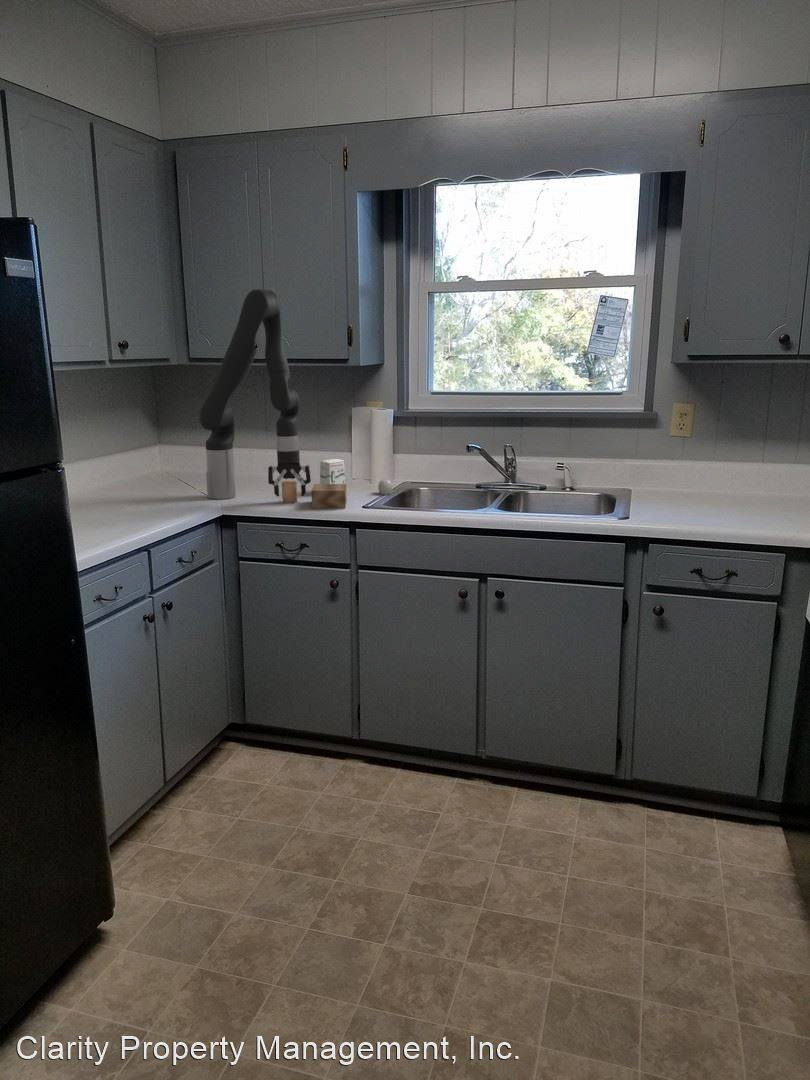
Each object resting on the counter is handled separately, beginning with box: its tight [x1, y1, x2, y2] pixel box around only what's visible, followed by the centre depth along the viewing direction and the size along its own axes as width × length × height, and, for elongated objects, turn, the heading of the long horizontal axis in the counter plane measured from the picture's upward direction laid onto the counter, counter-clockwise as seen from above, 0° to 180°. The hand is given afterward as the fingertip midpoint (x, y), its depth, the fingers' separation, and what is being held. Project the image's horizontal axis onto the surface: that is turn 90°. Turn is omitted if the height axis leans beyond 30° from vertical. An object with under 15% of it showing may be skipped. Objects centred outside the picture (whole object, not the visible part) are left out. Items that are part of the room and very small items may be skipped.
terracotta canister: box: [281, 480, 298, 504], centre depth 274 cm, size 5×5×7 cm
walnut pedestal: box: [310, 483, 348, 510], centre depth 269 cm, size 11×12×6 cm
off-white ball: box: [377, 478, 393, 496], centre depth 288 cm, size 5×5×5 cm
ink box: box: [319, 458, 346, 484], centre depth 289 cm, size 9×5×12 cm, turn 143°
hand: (290, 495), depth 274 cm, fingers open, 8 cm apart
